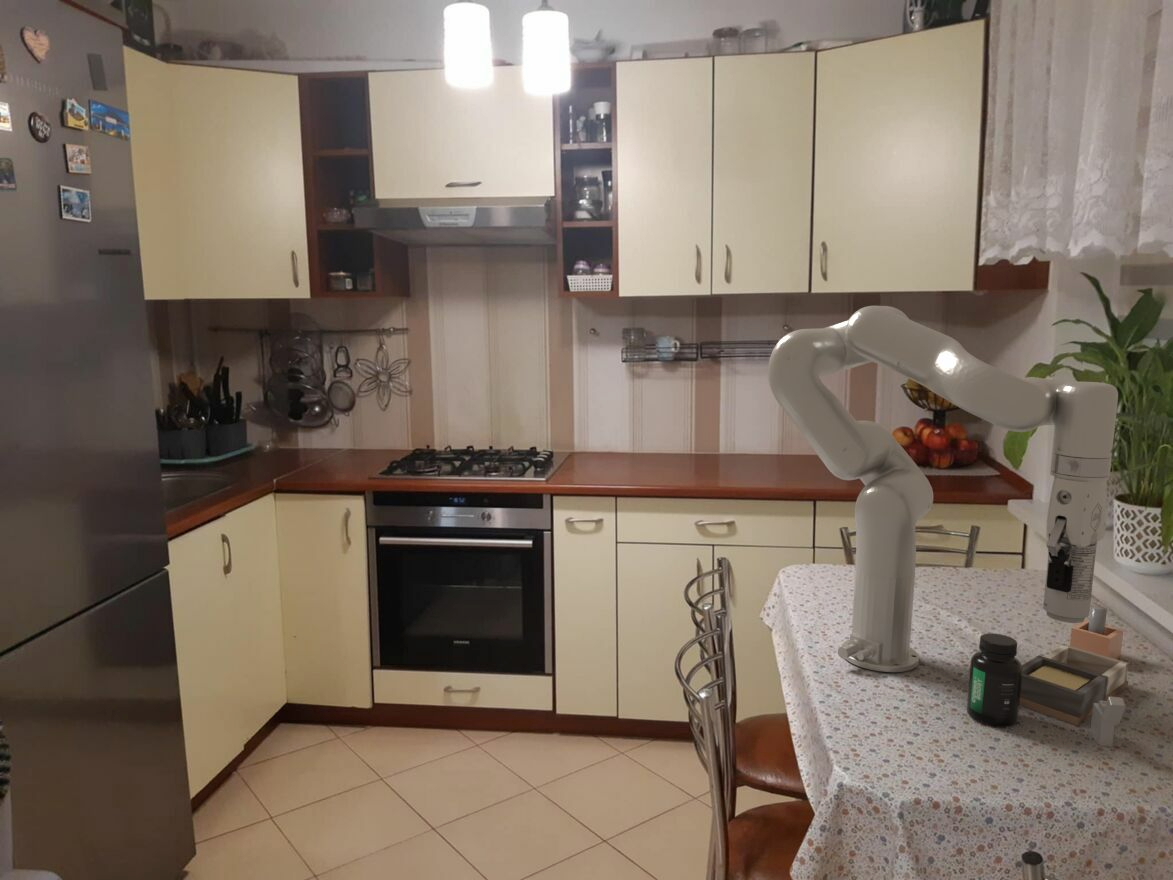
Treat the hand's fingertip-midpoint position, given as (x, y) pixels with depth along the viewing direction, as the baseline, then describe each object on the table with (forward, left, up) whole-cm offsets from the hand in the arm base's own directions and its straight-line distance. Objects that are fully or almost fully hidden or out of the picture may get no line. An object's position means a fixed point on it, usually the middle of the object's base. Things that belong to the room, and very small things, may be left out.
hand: (1068, 584), depth 125 cm
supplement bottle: (-12, +4, -19) cm, 23 cm away
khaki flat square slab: (0, 0, -16) cm, 16 cm away
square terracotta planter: (+24, +3, -19) cm, 30 cm away
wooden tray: (+5, 0, -19) cm, 19 cm away
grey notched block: (-8, -10, -19) cm, 23 cm away
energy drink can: (0, 0, -5) cm, 5 cm away
